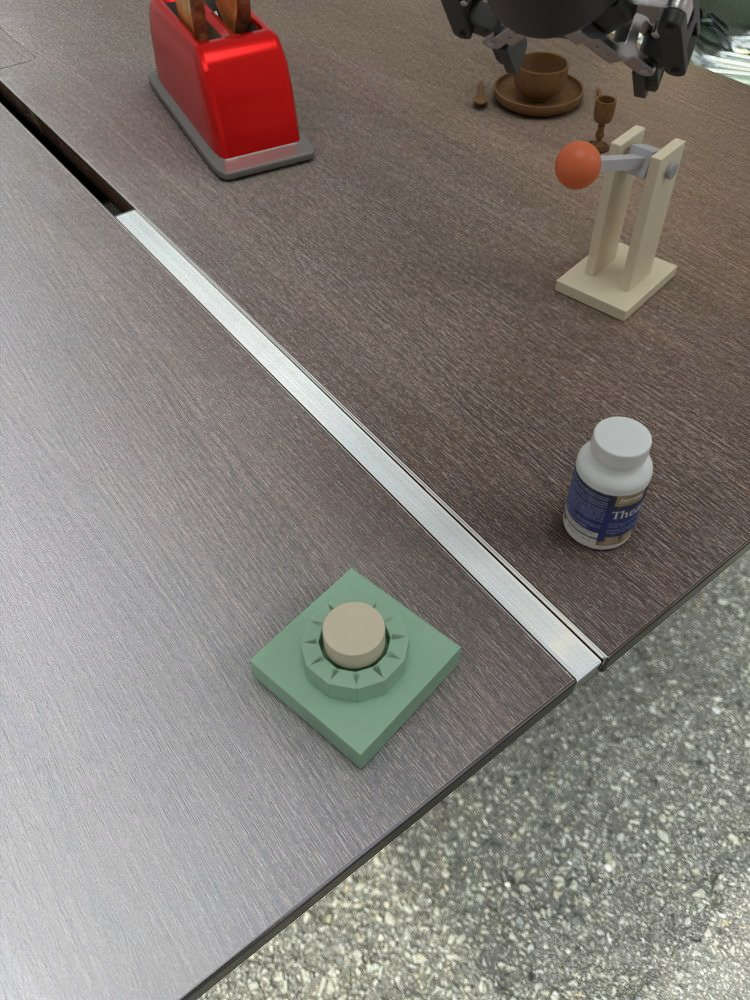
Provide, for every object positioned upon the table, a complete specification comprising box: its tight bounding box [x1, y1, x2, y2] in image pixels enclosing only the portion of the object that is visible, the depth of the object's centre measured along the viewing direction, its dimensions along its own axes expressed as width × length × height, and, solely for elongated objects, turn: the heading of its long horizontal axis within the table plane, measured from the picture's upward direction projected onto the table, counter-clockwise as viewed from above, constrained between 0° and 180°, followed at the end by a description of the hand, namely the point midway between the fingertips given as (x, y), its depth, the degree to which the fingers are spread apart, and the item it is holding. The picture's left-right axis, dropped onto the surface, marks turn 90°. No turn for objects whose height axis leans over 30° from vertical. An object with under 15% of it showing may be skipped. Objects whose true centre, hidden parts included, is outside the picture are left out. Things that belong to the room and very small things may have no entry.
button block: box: [248, 567, 462, 770], centre depth 56 cm, size 10×10×4 cm
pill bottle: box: [562, 415, 654, 550], centre depth 62 cm, size 5×5×10 cm
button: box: [322, 602, 385, 669], centre depth 54 cm, size 4×4×2 cm
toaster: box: [147, 0, 315, 181], centre depth 104 cm, size 32×13×19 cm, turn 26°
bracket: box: [554, 124, 687, 323], centre depth 80 cm, size 10×8×15 cm
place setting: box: [473, 51, 618, 154], centre depth 108 cm, size 18×20×6 cm
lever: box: [554, 140, 662, 191], centre depth 71 cm, size 16×4×4 cm, turn 138°
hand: (579, 70), depth 54 cm, fingers open, 8 cm apart
